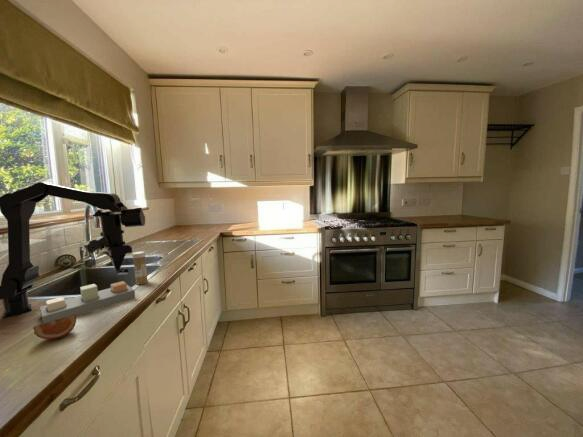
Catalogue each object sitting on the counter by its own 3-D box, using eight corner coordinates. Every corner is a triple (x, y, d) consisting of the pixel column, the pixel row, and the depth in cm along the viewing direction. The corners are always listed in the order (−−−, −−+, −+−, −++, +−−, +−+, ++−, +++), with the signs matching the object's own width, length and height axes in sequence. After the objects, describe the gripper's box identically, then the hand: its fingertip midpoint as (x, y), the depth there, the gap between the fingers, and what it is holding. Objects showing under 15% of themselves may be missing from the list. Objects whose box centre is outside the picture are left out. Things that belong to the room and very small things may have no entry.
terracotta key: (112, 296, 92) (110, 284, 91) (124, 293, 95) (123, 281, 94) (115, 299, 89) (113, 286, 89) (127, 295, 92) (126, 283, 92)
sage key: (81, 300, 85) (79, 287, 85) (96, 296, 88) (94, 283, 88) (84, 303, 83) (82, 290, 82) (98, 299, 86) (97, 286, 85)
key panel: (41, 315, 80) (39, 306, 80) (126, 291, 98) (126, 283, 98) (43, 326, 74) (42, 316, 73) (135, 297, 91) (134, 290, 91)
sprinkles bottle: (133, 284, 105) (129, 253, 103) (142, 280, 109) (139, 250, 108) (141, 285, 104) (138, 254, 102) (150, 281, 108) (147, 251, 106)
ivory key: (48, 315, 79) (46, 300, 79) (65, 310, 82) (62, 296, 82) (49, 319, 77) (47, 304, 76) (66, 314, 80) (64, 299, 79)
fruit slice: (35, 349, 62) (32, 330, 62) (35, 338, 67) (32, 321, 66) (79, 334, 68) (76, 317, 68) (76, 326, 73) (73, 309, 72)
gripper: (78, 229, 89) (84, 271, 91) (89, 234, 77) (95, 282, 79) (115, 225, 97) (119, 263, 99) (130, 228, 85) (135, 272, 87)
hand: (117, 270), depth 91 cm, fingers closed
